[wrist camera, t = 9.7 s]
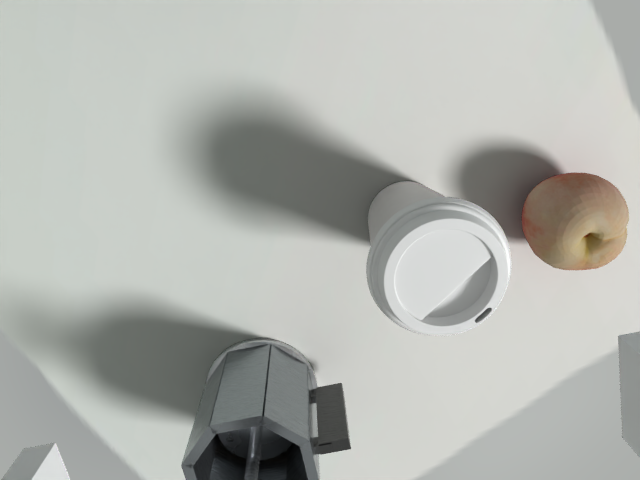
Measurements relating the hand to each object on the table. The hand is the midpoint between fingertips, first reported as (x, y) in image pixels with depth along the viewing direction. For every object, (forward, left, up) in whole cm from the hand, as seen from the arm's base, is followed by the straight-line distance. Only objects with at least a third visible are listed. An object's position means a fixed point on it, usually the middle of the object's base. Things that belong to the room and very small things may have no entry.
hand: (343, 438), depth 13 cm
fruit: (+8, +20, -37) cm, 43 cm away
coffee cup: (+6, +7, -37) cm, 38 cm away
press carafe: (+20, -8, -37) cm, 43 cm away
